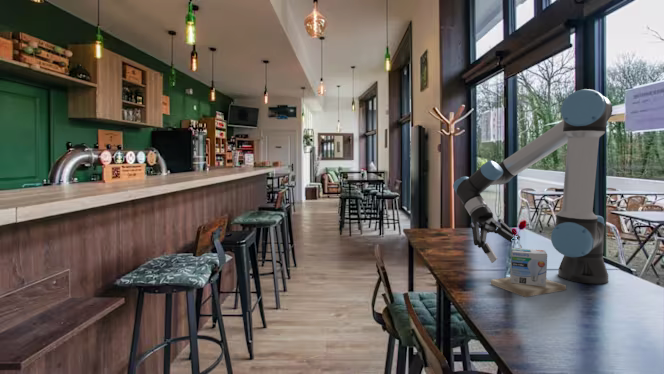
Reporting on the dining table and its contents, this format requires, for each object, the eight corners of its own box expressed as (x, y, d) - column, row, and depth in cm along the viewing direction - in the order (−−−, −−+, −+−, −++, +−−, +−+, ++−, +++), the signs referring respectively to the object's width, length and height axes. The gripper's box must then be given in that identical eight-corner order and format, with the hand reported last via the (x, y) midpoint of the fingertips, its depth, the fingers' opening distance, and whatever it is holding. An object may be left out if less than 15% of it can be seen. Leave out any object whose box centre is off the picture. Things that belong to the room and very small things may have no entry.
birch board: (529, 278, 139) (529, 274, 139) (565, 289, 127) (566, 285, 126) (490, 284, 133) (491, 279, 133) (525, 297, 120) (525, 292, 120)
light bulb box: (510, 283, 129) (511, 251, 128) (509, 277, 135) (510, 247, 134) (547, 287, 124) (548, 254, 124) (544, 281, 131) (545, 249, 130)
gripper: (498, 215, 156) (528, 261, 143) (448, 218, 147) (475, 267, 134) (509, 203, 151) (541, 250, 138) (458, 206, 141) (488, 256, 129)
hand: (509, 258), depth 136 cm, fingers open, 13 cm apart
